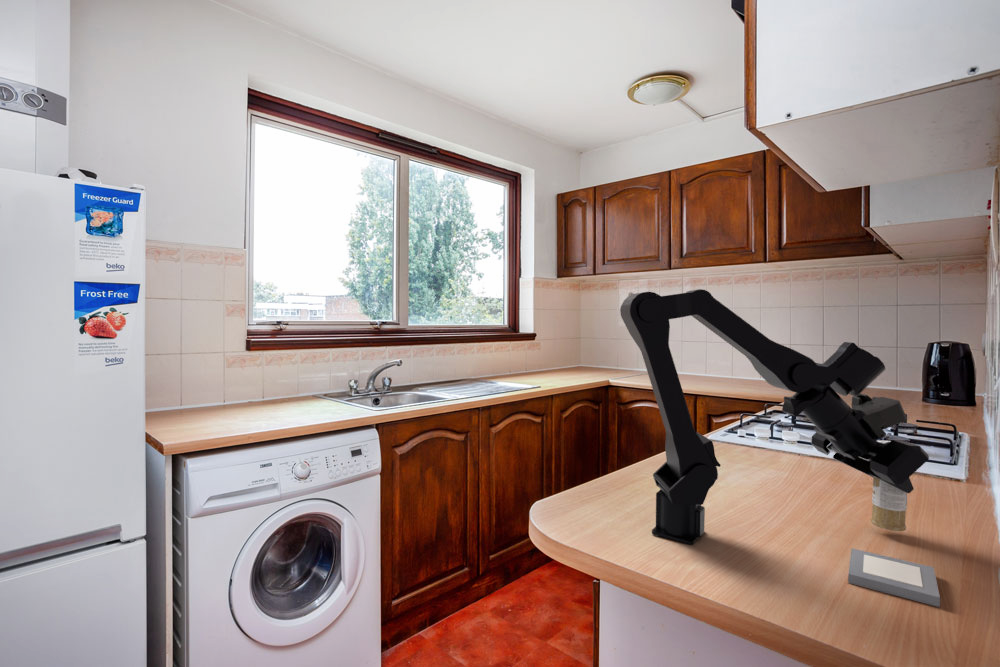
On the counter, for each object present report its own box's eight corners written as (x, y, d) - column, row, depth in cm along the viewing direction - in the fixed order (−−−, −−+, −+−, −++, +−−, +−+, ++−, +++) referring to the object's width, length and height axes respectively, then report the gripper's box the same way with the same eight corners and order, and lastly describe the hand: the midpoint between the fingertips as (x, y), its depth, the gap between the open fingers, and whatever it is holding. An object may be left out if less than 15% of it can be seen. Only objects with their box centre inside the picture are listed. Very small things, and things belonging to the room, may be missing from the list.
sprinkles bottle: (872, 518, 83) (875, 438, 82) (907, 526, 80) (911, 443, 79) (868, 526, 79) (872, 443, 79) (905, 535, 76) (909, 448, 76)
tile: (848, 582, 65) (848, 573, 65) (851, 556, 72) (851, 547, 72) (939, 607, 60) (939, 596, 60) (933, 575, 67) (933, 566, 67)
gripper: (918, 389, 69) (994, 469, 70) (831, 373, 88) (891, 436, 88) (858, 444, 70) (934, 523, 70) (784, 417, 88) (844, 479, 89)
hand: (898, 485), depth 79 cm, fingers closed on sprinkles bottle, 4 cm apart
